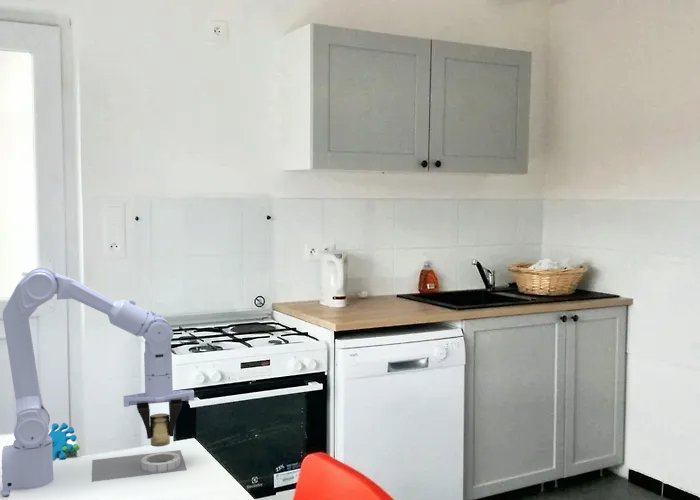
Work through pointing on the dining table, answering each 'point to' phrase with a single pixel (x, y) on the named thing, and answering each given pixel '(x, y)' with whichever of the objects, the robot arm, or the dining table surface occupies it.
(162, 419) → the brass shaft
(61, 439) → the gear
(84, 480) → the dining table surface
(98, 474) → the housing plate
